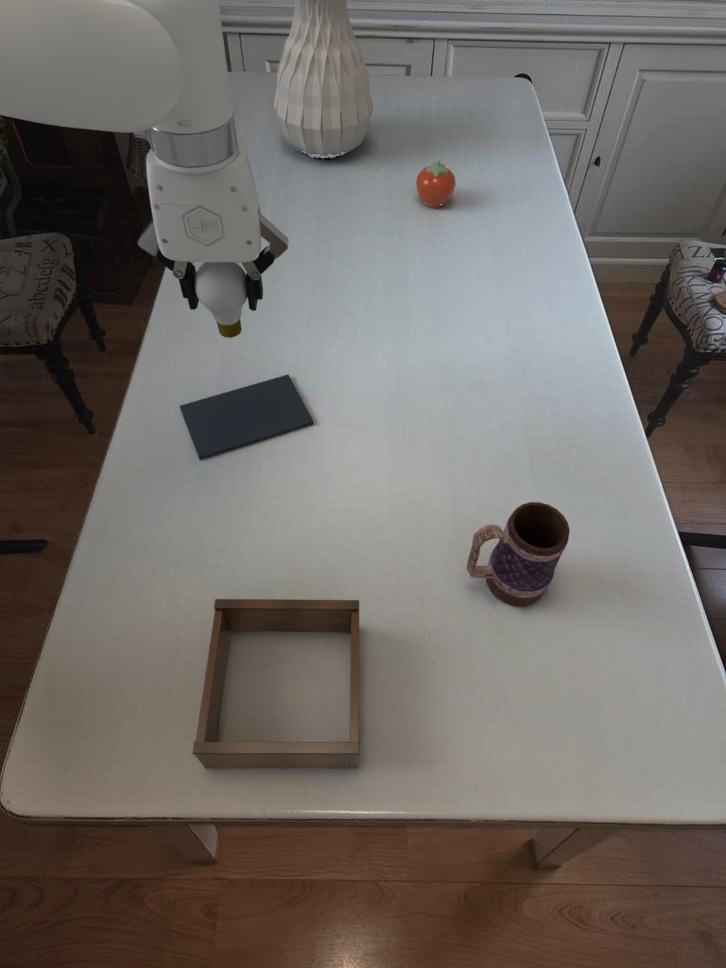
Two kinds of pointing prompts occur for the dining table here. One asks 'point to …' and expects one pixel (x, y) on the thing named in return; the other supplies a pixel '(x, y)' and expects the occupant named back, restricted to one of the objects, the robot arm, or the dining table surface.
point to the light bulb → (222, 294)
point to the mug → (521, 553)
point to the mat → (245, 416)
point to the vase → (322, 81)
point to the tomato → (435, 184)
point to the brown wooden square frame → (226, 619)
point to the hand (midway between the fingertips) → (224, 301)
